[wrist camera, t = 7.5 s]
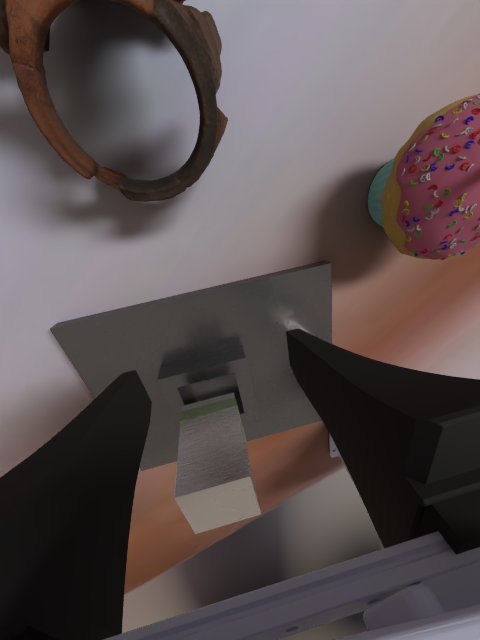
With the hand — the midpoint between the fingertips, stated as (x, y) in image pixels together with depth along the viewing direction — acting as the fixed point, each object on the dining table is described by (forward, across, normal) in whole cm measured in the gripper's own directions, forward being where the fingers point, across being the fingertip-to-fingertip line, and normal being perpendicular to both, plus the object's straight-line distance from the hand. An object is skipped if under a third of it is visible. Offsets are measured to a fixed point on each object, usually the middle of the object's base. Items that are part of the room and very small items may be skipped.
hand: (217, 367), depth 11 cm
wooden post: (+4, +2, +8) cm, 9 cm away
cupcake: (+9, -16, -5) cm, 19 cm away
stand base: (+9, +2, +8) cm, 12 cm away
